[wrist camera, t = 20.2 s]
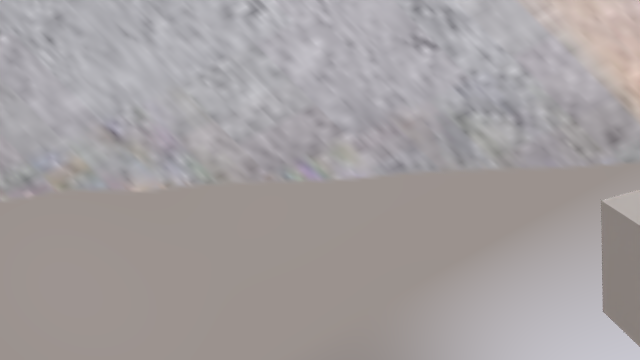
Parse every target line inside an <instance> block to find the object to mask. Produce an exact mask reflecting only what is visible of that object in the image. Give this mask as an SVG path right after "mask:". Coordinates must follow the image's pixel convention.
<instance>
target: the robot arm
mask: <svg viewBox="0 0 640 360" xmlns="http://www.w3.org/2000/svg"><path fill="white" fill-rule="evenodd" d="M601 222H602V282H603V284H602V285H603V312H604V313H605V314H606V315H607V316H608V317H609V318H610V319H611V320H612V321H613V322H615V324H617V325H618V326H619V327H620V328H621V329H622V330H623V331H624V332H625V333H626V334H627V335H628V336H629V337H630V338H631V339H632V340H633V341H634V342H636V343H637V344H638V345H639V346H640V191H639V190H635V191H632V192H628V193H625V194H622V195H618V196H614V197H611V198H607V199H604V200H601Z"/></svg>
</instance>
